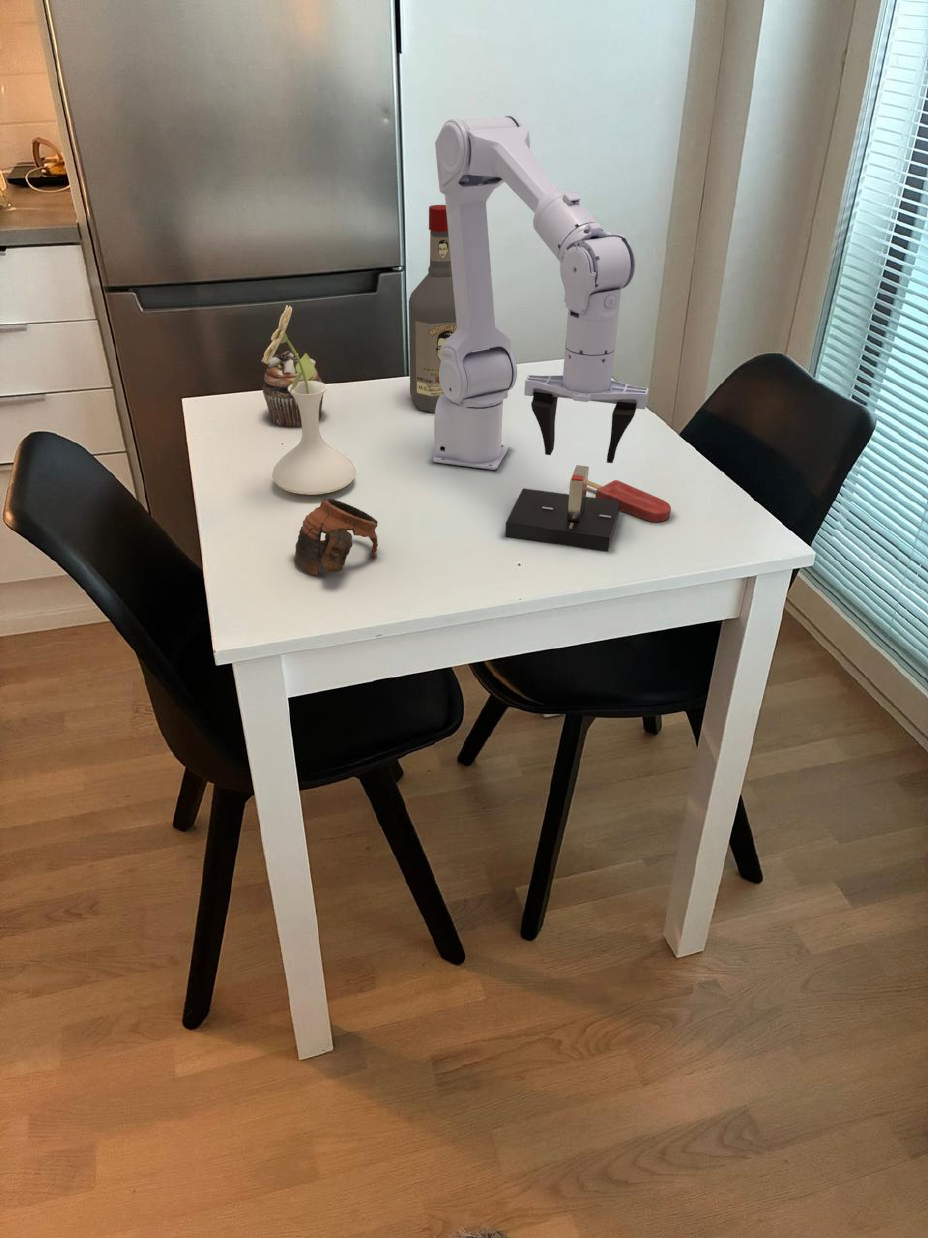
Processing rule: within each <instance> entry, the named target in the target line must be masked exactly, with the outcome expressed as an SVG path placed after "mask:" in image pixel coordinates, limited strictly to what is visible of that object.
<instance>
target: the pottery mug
mask: <svg viewBox="0 0 928 1238" xmlns="http://www.w3.org/2000/svg"><path fill="white" fill-rule="evenodd" d="M378 523H379V522H378V520H377V519H376V518H374V517H373V516H372V515H370V514H368V513H367V512H365V511H364V510H361V509H359V508H357V507H355V506H353V505H350V504H348V503H345V502H343V501H340V500H337V499H333V498H330V497H329V498H328V497H327V498H322V500H321V502H320V505H319V506H318V507H316V508H315V509H314V510H312V511H310V512H309V513H308V514H307V515H306V516H305V518H304V519H303V520H302V526H301V527H300V529H299V531H298V536H297V541H296V543H295V552H294V558H293V560H294V562H295V563H296V564H297V566H298V567H300V568H301V569H302V570H304V571H305V572H308V573H309V574H311V575H313V576H316V577H318V576H319V573H320V568H321V566H322V568H323V569H324V570H325V571H326V572H329V573H336V572H341V571H342V570H343V569H344V566H345V564H346V559H347V556H348V555H349V553H350V551H351V549H352V547H353V536H357V537H358V536H359V537H362V538H368V539H370V541H371V543H372V547H371V551H370V555H371V557H376V556H377V552H378V546H379V543H378V542H379V541H378V535H377V532H376V529H377V528H378V526H379V525H378ZM350 531H352V533H351V532H350ZM322 533H323V534H325V535H324V539H323V540H322ZM352 534H353V535H352Z"/></svg>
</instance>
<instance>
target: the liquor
mask: <svg viewBox="0 0 928 1238" xmlns="http://www.w3.org/2000/svg"><path fill="white" fill-rule="evenodd" d="M428 230H429V231H430V232H429V233H430V234H429V244H430V245H429V266H428V268H427V270H428V271H427V274H426V276H425V277H424V278H423V279H422V280H421V281H420V282H419V284H418V285H416V287H415V289H413V291H411V293H410V296H409V298H408V331H409V332H408V343H409V344H408V345H409V347H408V348H409V351H408V353H409V393H410V396H411V398H412V400H413V401H414V403H415V405H416V407H417V409H418V410H420V411H423V412H427V413H431V414H432V413H433V414H435V409H436V404H437V401H438V399H439V397H440V395H442V394H444V392H443V390H442V388H441V385H440V381H439V368H440V363H441V349H440V347H441V346H442V344H443V343H444V342H445V341H446V340H447V339H448V338H449V337H450V336H451V335H452V334H453V333H454V332H455V330H456V329H457V324H456V313H455V302H454V291H453V279H452V268H451V257H450V246H449V235H448V224H447V213H446V204H432V205H429V206H428ZM469 353H470V352H469Z"/></svg>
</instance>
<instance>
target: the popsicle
mask: <svg viewBox="0 0 928 1238" xmlns="http://www.w3.org/2000/svg"><path fill="white" fill-rule="evenodd" d="M587 486H588V487H591V488H594V489H596V490H595V497H594V498H599V499H607V500H614V501H620V510H619V512H620V511H621V512H622V513H626V514H629V515H631V516H634V517H636V518H638V519H641V520H644V521H647V522H653V523H654V522H655V523H659V522H665V521H667V520H668V519H669V518H670V516H671V510H672V506H671V504H670V503H669V502H667V501H665V500H664V499H662V498H659V497H658V496H655V495H652V494H651V493H648V492H646V491H643V490H641V489H639V488H636V487H634V486H632V485H630V484H627V483H626V482H623V481H620V480H618V479H613V480H612V481H610V482H608V483H606V484H604V485H601V484H599V483H596V482H593V481H591V480H588V482H587Z"/></svg>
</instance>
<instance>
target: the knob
mask: <svg viewBox="0 0 928 1238" xmlns="http://www.w3.org/2000/svg"><path fill="white" fill-rule="evenodd" d="M589 470H590V466H587V465H578V464H576V466H575V468H574V471H573V473H572V475H571V478H570V480H569V492H568V494H569V501H568V513H567V520H572V521H580V518H581V516H582V513H583V510H584V507H585V502H586V497H587V491H588V485H587V482H588V481H589Z"/></svg>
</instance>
